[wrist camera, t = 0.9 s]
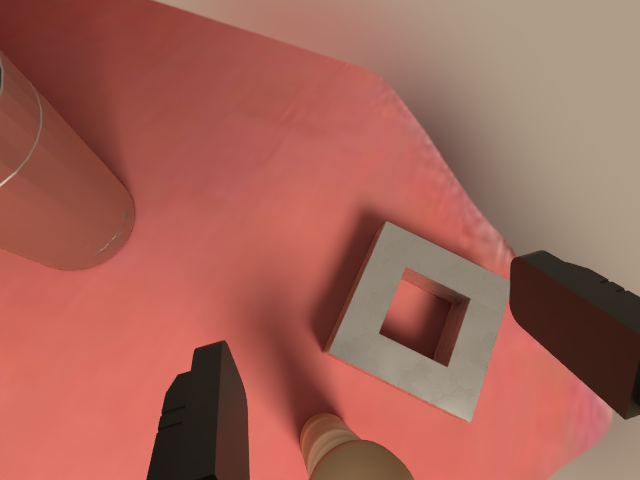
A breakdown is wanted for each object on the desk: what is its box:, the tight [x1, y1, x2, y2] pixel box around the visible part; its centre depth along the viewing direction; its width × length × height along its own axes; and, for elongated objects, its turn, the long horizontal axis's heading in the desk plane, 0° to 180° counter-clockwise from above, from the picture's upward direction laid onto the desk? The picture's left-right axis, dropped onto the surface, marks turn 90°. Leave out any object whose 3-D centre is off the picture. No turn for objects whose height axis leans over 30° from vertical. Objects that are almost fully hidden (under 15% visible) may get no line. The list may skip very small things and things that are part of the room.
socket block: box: [323, 221, 510, 423], centre depth 32 cm, size 12×12×4 cm
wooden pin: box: [300, 413, 414, 480], centre depth 24 cm, size 5×5×14 cm
